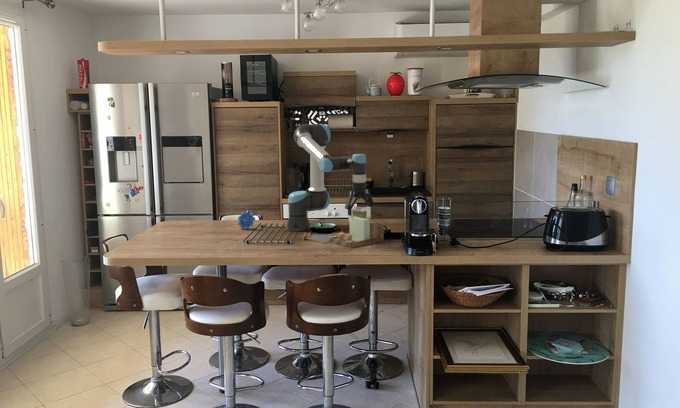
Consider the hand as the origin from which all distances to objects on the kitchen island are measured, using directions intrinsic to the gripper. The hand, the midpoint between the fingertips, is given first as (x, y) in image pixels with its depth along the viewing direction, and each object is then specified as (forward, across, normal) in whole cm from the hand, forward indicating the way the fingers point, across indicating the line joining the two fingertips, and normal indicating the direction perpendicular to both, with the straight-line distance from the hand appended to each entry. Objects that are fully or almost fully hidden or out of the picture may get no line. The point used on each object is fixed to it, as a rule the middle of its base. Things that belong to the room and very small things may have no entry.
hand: (359, 219), depth 315 cm
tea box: (+12, +15, +16) cm, 26 cm away
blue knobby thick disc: (+12, -30, +72) cm, 79 cm away
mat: (+12, -13, +18) cm, 25 cm away
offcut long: (+13, -10, 0) cm, 17 cm away
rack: (+12, -2, 0) cm, 13 cm away
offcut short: (+10, -10, +1) cm, 14 cm away
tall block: (+12, 0, 0) cm, 12 cm away
